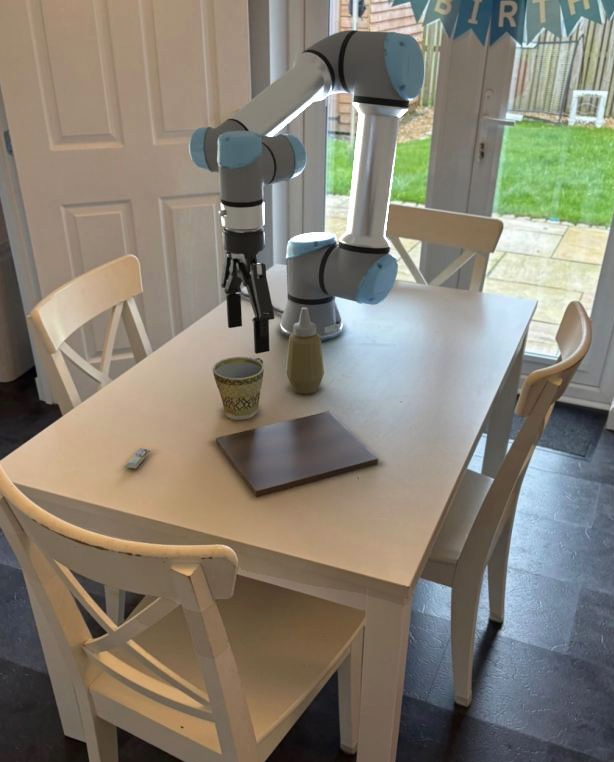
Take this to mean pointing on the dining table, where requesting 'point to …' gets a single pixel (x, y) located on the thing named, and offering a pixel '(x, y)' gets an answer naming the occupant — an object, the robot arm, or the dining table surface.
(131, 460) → the granola bar
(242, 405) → the ceramic cup
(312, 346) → the squeeze bottle
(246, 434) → the serving board
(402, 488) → the dining table surface
